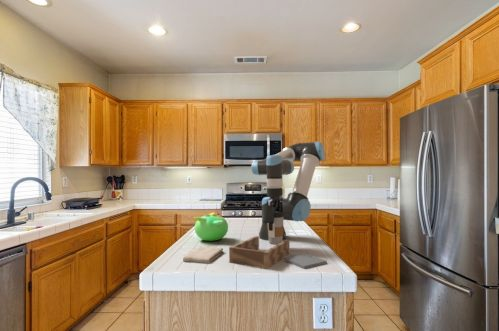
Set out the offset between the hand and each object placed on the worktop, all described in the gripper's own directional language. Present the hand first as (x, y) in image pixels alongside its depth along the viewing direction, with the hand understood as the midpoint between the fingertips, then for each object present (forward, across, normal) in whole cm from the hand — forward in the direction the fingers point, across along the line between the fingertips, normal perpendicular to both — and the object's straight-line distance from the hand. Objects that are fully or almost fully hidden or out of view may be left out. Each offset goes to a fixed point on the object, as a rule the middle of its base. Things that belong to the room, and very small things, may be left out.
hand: (275, 235), depth 135 cm
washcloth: (+7, +25, -23) cm, 35 cm away
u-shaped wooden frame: (+6, +15, 0) cm, 16 cm away
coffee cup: (+4, 0, 0) cm, 4 cm away
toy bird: (+7, 0, -38) cm, 38 cm away
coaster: (+6, +13, +18) cm, 23 cm away
